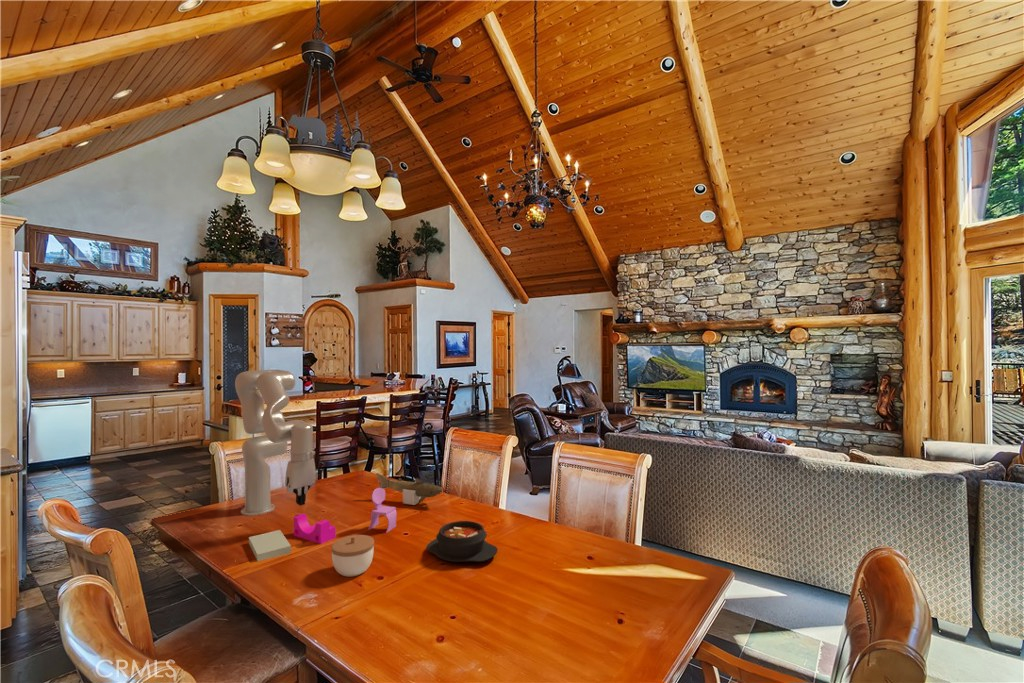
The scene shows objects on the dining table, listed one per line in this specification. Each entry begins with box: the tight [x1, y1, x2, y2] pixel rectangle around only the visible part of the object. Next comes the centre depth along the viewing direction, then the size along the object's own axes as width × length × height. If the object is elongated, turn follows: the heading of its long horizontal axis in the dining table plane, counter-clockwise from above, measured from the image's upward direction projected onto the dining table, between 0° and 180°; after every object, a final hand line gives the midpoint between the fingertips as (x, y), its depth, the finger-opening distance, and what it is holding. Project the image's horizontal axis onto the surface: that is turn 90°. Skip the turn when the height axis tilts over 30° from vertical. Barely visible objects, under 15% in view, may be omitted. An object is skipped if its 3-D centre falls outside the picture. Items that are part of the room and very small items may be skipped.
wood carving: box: [375, 472, 444, 506], centre depth 204 cm, size 9×35×11 cm, turn 68°
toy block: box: [293, 513, 336, 545], centre depth 167 cm, size 15×6×8 cm, turn 61°
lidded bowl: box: [330, 534, 375, 578], centre depth 141 cm, size 13×13×11 cm
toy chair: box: [367, 487, 397, 533], centre depth 175 cm, size 8×9×15 cm
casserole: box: [426, 520, 499, 563], centre depth 153 cm, size 25×19×8 cm
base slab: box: [248, 529, 292, 562], centre depth 157 cm, size 17×10×4 cm, turn 38°
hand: (300, 504), depth 173 cm, fingers closed
